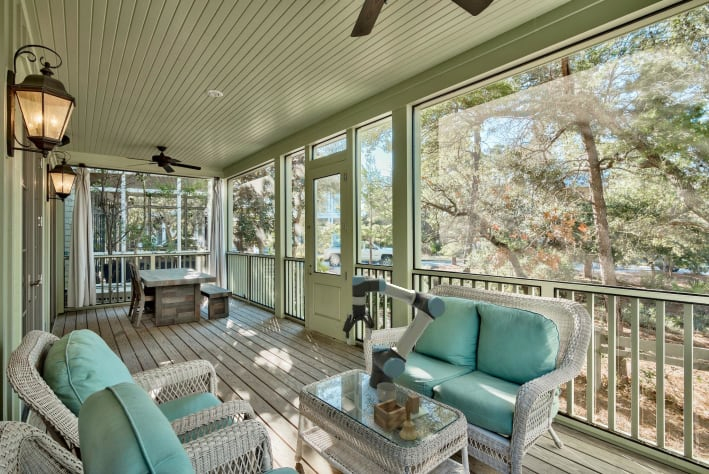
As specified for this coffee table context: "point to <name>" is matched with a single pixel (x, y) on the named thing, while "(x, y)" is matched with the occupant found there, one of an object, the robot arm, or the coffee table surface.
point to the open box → (390, 414)
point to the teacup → (386, 391)
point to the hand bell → (408, 425)
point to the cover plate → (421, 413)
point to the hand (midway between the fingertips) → (359, 341)
